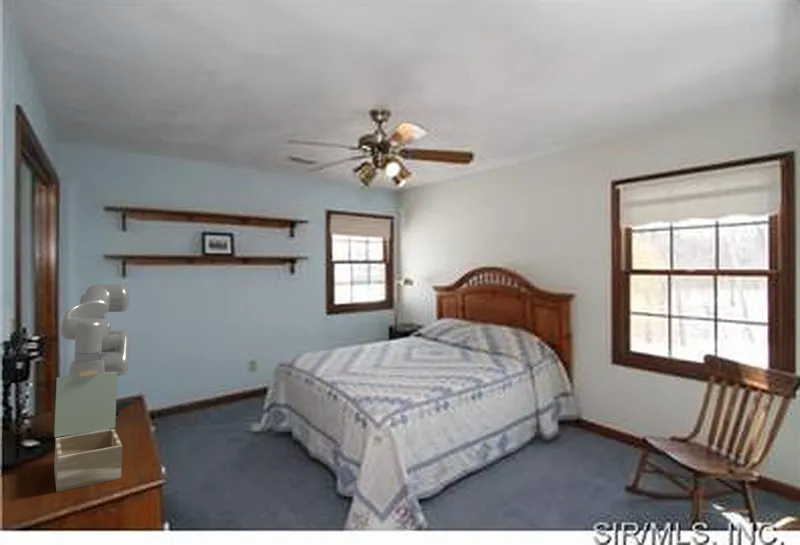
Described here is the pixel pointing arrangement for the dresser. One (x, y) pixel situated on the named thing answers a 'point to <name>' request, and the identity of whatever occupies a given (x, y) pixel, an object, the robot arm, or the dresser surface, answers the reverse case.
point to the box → (87, 459)
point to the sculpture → (121, 406)
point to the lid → (85, 403)
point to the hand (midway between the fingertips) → (85, 410)
